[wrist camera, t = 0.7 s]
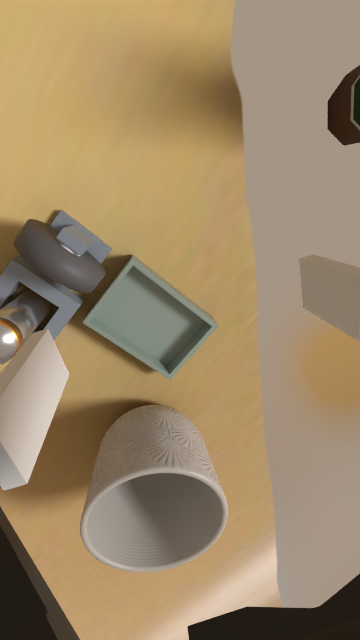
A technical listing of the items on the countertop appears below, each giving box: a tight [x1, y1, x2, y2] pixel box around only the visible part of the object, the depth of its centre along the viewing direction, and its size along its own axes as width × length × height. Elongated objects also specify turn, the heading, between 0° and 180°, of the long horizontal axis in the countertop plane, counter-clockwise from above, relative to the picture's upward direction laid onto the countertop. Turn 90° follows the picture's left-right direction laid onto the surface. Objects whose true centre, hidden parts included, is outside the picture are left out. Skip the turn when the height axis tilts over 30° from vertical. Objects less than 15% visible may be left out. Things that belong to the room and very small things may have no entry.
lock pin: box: [0, 290, 50, 364], centre depth 32 cm, size 4×4×12 cm
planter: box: [80, 405, 228, 572], centre depth 41 cm, size 17×17×15 cm
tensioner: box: [0, 210, 112, 346], centre depth 33 cm, size 9×17×10 cm, turn 140°
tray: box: [82, 255, 218, 379], centre depth 39 cm, size 14×10×3 cm
